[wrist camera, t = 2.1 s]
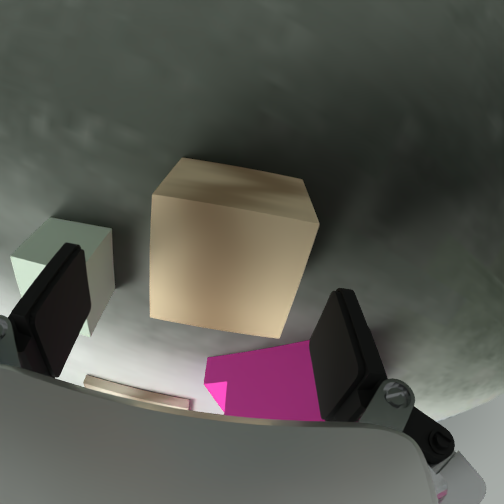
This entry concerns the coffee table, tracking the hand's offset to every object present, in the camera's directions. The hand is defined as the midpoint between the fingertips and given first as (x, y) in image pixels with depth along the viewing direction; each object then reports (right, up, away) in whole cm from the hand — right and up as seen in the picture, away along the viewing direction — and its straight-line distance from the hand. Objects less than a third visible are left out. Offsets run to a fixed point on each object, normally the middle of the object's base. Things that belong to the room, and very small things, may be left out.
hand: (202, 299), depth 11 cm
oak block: (+1, +3, +5) cm, 6 cm away
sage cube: (-9, +2, +7) cm, 11 cm away
